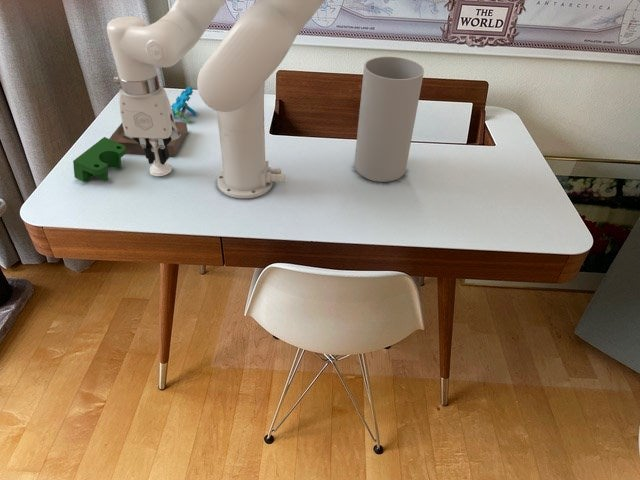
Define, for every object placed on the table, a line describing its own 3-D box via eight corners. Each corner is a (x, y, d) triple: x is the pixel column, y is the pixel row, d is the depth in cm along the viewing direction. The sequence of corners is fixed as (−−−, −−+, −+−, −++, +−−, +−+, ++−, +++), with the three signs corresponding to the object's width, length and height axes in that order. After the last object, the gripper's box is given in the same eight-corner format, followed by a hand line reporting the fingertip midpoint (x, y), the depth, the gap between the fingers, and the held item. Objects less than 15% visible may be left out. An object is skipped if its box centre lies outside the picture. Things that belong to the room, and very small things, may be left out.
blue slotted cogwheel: (170, 100, 138) (191, 78, 133) (187, 113, 141) (209, 92, 136) (161, 123, 131) (184, 101, 125) (180, 136, 134) (202, 116, 129)
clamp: (104, 197, 112) (93, 178, 104) (81, 187, 112) (68, 167, 104) (132, 157, 117) (123, 135, 109) (109, 148, 117) (99, 125, 109)
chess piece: (173, 173, 112) (164, 134, 106) (151, 178, 111) (141, 138, 104) (170, 163, 115) (161, 124, 109) (148, 167, 114) (138, 128, 108)
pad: (188, 131, 128) (187, 121, 126) (174, 156, 119) (172, 145, 117) (128, 127, 129) (126, 116, 127) (109, 152, 119) (106, 141, 117)
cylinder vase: (388, 189, 112) (405, 85, 95) (343, 170, 117) (352, 68, 101) (414, 167, 120) (434, 67, 103) (371, 150, 125) (384, 52, 109)
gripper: (94, 89, 97) (118, 168, 109) (173, 92, 96) (188, 171, 108) (109, 74, 103) (130, 151, 115) (184, 77, 102) (197, 154, 114)
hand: (158, 160), depth 111 cm, fingers closed on chess piece
